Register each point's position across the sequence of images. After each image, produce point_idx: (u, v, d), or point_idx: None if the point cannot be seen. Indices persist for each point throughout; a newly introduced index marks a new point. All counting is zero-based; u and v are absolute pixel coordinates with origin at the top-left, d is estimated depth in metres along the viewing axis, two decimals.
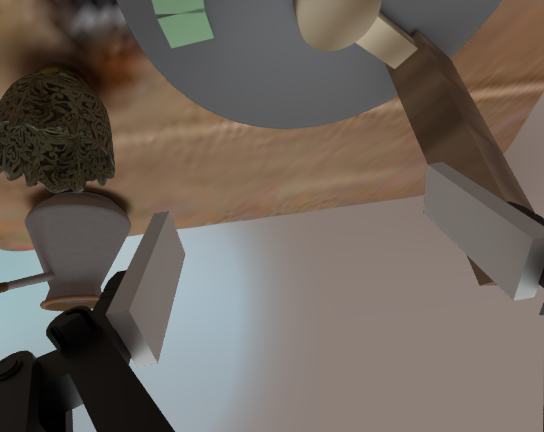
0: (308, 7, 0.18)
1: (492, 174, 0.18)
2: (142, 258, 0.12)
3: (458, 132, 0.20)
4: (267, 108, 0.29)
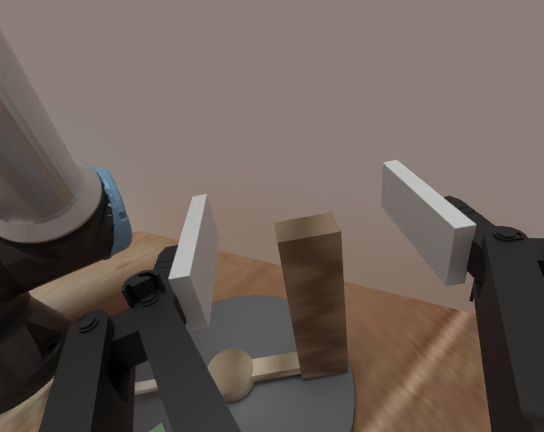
0: None
1: None
2: (191, 233, 0.13)
3: None
4: None
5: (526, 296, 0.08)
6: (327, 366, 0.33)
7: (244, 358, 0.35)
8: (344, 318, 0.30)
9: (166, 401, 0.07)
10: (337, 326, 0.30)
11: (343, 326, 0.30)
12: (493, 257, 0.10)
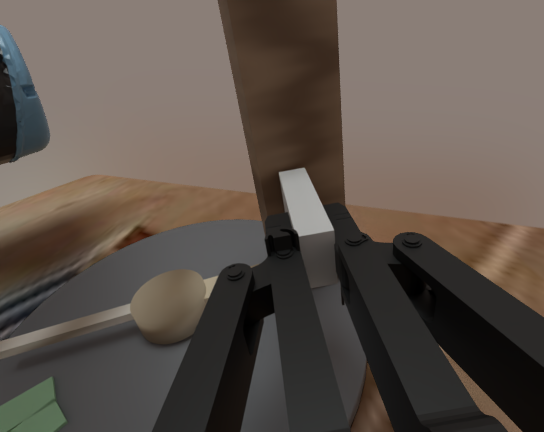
0: (137, 309, 0.21)
1: (241, 108, 0.19)
2: (296, 201, 0.14)
3: (252, 166, 0.20)
4: None
5: (386, 295, 0.09)
6: None
7: (191, 278, 0.23)
8: (342, 171, 0.19)
9: (282, 344, 0.08)
10: (332, 187, 0.19)
11: (340, 188, 0.19)
12: (351, 264, 0.10)
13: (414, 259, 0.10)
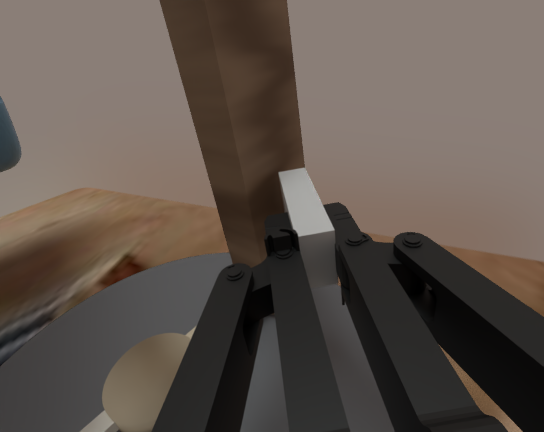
0: (122, 412, 0.15)
1: None
2: (295, 201, 0.14)
3: (217, 187, 0.18)
4: None
5: (386, 295, 0.09)
6: None
7: (170, 341, 0.18)
8: None
9: (281, 345, 0.08)
10: None
11: None
12: (351, 264, 0.10)
13: (415, 259, 0.10)
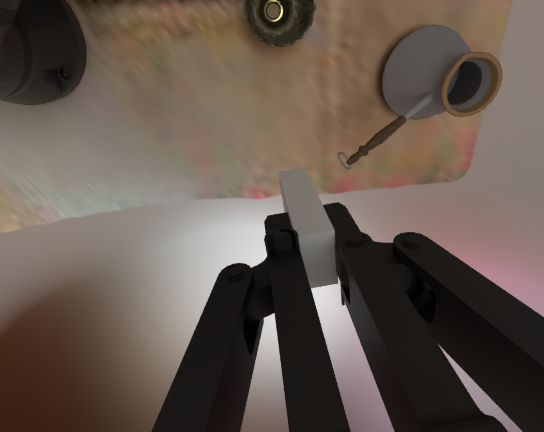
0: None
1: None
2: (296, 201, 0.14)
3: None
4: None
5: (386, 295, 0.09)
6: None
7: None
8: None
9: (281, 344, 0.08)
10: None
11: None
12: (351, 264, 0.10)
13: (414, 259, 0.10)
